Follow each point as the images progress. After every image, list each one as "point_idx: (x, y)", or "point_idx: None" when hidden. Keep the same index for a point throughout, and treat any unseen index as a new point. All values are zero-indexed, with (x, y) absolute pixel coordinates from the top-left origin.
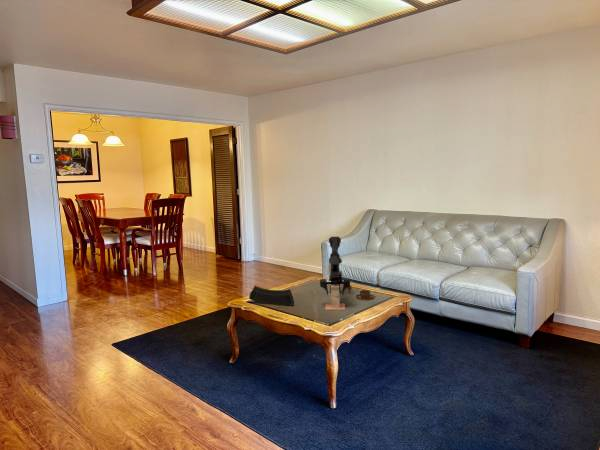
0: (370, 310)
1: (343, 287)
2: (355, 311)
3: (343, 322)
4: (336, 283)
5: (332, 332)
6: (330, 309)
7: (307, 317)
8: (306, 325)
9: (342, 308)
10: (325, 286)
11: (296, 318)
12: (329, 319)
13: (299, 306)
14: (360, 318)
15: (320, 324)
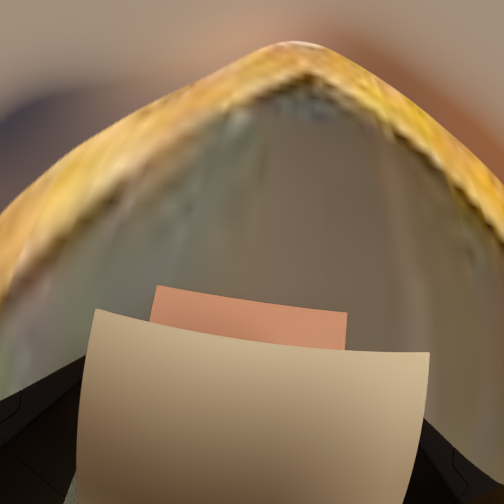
0: (11, 248)
1: (9, 423)
2: (93, 240)
3: (238, 85)
4: None
5: (297, 41)
6: (299, 308)
7: (433, 178)
8: (404, 99)
9: (176, 317)
10: (485, 486)
11: (469, 179)
12: (312, 123)
13: (495, 396)
14: (127, 122)
15: (351, 89)
